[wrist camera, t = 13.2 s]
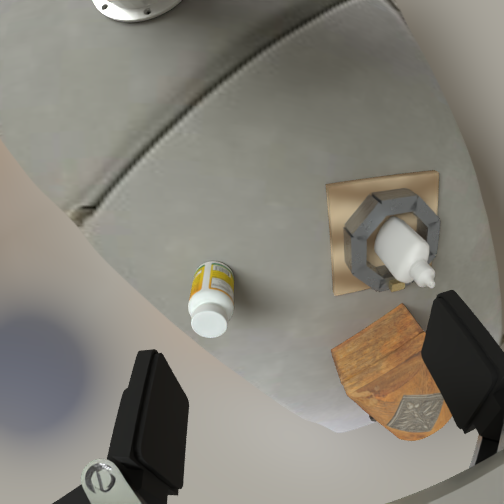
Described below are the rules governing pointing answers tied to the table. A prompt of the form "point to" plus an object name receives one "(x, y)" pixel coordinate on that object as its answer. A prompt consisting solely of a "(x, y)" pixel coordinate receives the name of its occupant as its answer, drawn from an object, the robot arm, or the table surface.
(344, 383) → the wooden box
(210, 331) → the supplement bottle
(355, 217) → the gray octagonal ring
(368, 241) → the square wooden board
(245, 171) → the table surface
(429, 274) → the eye dropper bottle
